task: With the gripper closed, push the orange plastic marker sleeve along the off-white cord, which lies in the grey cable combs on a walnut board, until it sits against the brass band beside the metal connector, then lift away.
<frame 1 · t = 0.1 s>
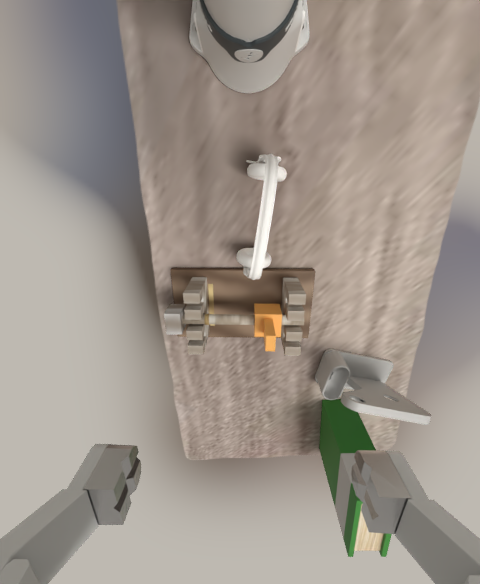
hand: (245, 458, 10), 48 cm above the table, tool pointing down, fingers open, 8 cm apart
phone holder: (351, 369, 66), on the table
cord comb board: (242, 302, 60), on the table
headset: (257, 214, 53), on the table
marker sleeve: (268, 327, 50), point 11 cm above the table, slide at 0.0 cm
hardback book: (334, 424, 73), on the table
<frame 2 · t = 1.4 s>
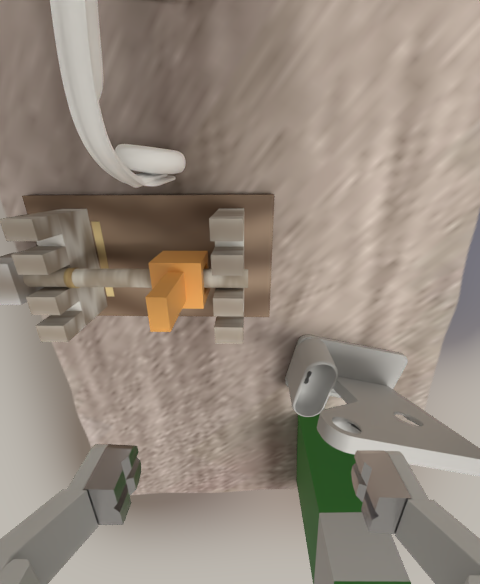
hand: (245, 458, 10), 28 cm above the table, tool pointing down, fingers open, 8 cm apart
phone holder: (342, 368, 43), on the table
cord comb board: (158, 257, 36), on the table
headset: (165, 86, 29), on the table
marker sleeve: (175, 288, 26), point 11 cm above the table, slide at 0.0 cm
hardback book: (317, 447, 50), on the table
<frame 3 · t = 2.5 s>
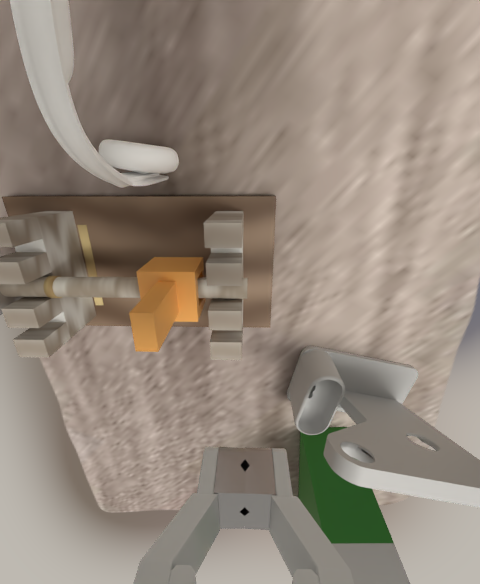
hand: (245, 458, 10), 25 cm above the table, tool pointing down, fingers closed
phone holder: (348, 381, 40), on the table
cord comb board: (151, 264, 34), on the table
headset: (157, 77, 27), on the table
marker sleeve: (166, 300, 23), point 11 cm above the table, slide at 0.0 cm
hardback book: (320, 463, 47), on the table
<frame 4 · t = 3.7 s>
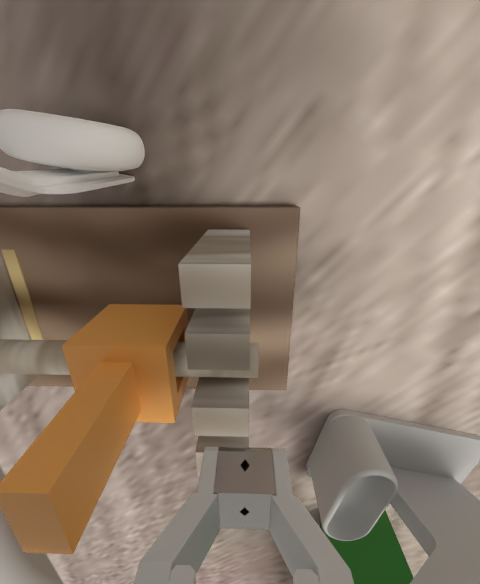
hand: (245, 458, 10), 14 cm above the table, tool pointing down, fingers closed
phone holder: (389, 452, 30), on the table
cord comb board: (116, 302, 23), on the table
headset: (113, 18, 17), on the table
marker sleeve: (116, 395, 13), point 11 cm above the table, slide at 0.0 cm
hardback book: (346, 546, 36), on the table
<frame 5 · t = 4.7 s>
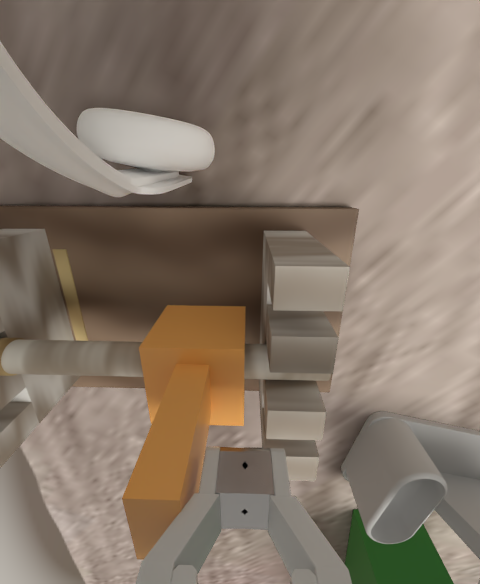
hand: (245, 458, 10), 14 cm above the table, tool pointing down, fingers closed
phone holder: (425, 454, 30), on the table
cord comb board: (161, 303, 23), on the table
headset: (178, 17, 16), on the table
marker sleeve: (192, 397, 13), point 11 cm above the table, slide at 0.2 cm, touching gripper
hardback book: (374, 548, 36), on the table
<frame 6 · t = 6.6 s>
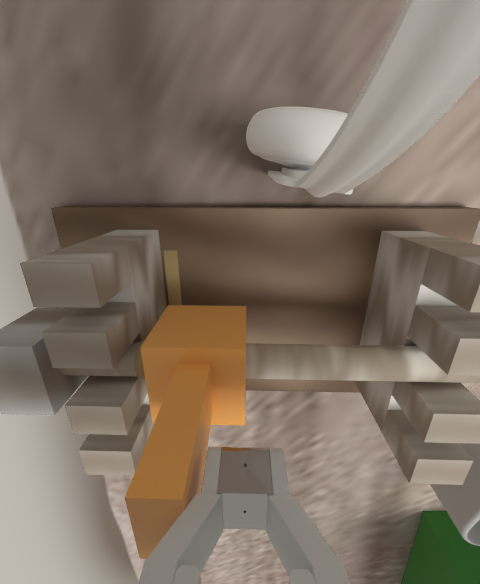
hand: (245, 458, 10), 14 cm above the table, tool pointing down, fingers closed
cord comb board: (258, 304, 23), on the table
headset: (315, 15, 16), on the table
marker sleeve: (193, 397, 13), point 11 cm above the table, slide at 8.5 cm, touching gripper
hardback book: (438, 550, 36), on the table
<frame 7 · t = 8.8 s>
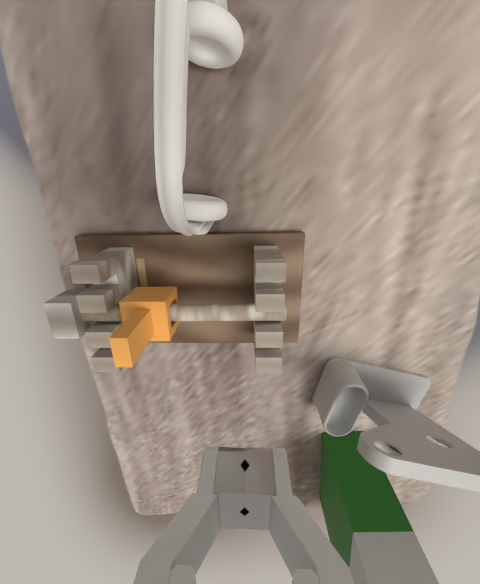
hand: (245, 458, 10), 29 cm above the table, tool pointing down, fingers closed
phone holder: (367, 388, 45), on the table
cord comb board: (195, 289, 39), on the table
headset: (207, 140, 33), on the table
marker sleeve: (143, 324, 29), point 11 cm above the table, slide at 8.5 cm
hardback book: (340, 465, 51), on the table
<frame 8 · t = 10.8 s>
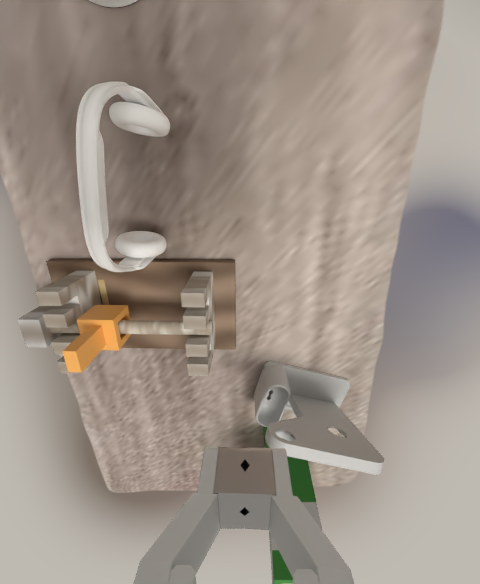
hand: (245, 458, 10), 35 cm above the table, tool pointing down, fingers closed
phone holder: (299, 387, 53), on the table
cord comb board: (149, 304, 47), on the table
headset: (153, 186, 40), on the table
marker sleeve: (96, 337, 37), point 11 cm above the table, slide at 8.5 cm
hardback book: (281, 452, 60), on the table
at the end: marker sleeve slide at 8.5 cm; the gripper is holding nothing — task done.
